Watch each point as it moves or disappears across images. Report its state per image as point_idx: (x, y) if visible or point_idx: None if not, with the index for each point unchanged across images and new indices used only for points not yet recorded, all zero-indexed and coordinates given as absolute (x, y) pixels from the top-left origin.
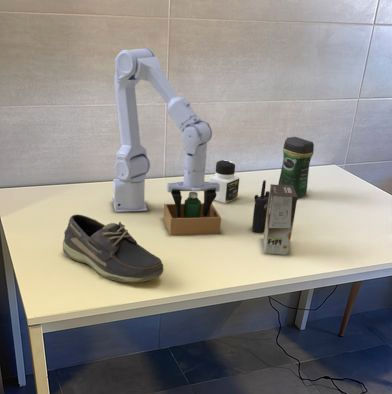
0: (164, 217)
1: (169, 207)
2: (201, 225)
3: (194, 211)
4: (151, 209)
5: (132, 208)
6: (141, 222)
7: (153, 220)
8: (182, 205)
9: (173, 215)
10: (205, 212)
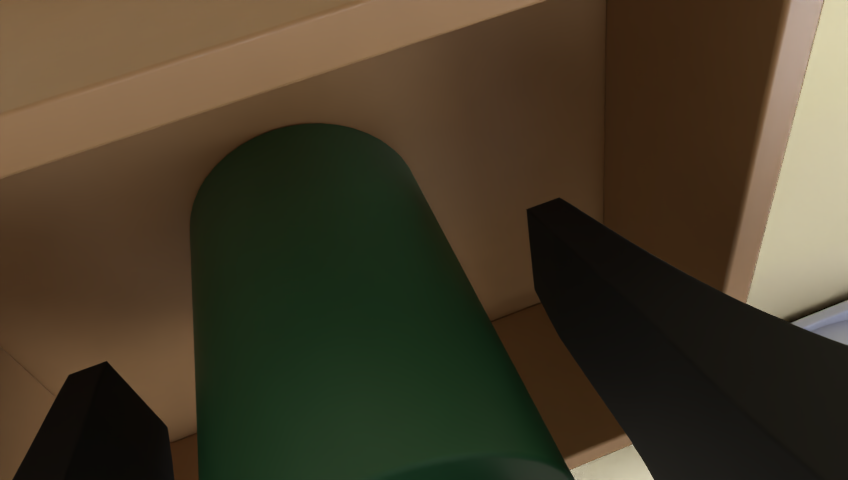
0: None
1: None
2: (60, 23)
3: (310, 329)
4: None
5: (836, 332)
6: (835, 141)
7: None
8: None
9: (538, 330)
10: (79, 424)
